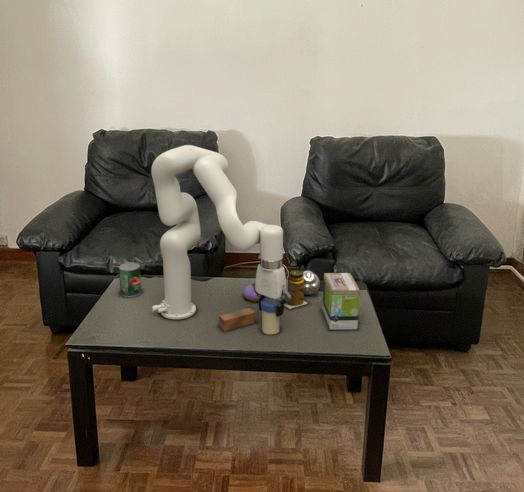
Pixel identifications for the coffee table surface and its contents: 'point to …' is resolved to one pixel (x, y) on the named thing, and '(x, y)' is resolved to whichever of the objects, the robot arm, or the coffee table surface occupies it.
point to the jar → (270, 323)
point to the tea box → (340, 301)
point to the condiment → (295, 289)
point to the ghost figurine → (310, 283)
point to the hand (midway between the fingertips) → (271, 311)
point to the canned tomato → (130, 279)
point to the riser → (237, 319)
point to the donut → (250, 293)
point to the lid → (269, 304)
